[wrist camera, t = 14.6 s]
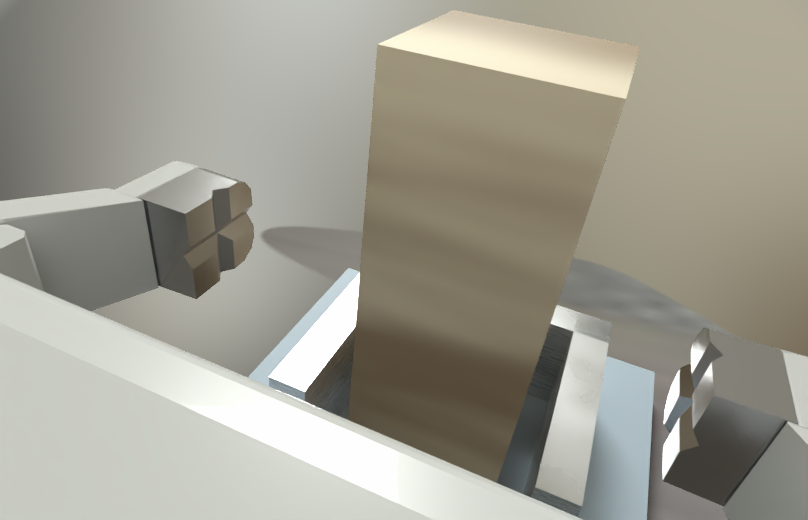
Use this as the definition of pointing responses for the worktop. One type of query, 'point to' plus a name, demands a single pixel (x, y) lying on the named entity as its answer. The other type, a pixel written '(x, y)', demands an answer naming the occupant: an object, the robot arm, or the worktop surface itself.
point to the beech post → (474, 222)
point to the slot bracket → (552, 381)
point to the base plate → (613, 437)
